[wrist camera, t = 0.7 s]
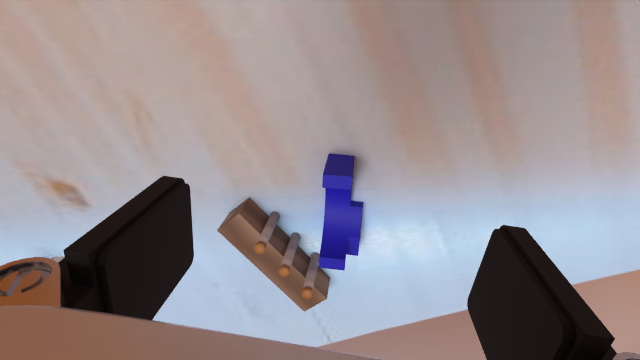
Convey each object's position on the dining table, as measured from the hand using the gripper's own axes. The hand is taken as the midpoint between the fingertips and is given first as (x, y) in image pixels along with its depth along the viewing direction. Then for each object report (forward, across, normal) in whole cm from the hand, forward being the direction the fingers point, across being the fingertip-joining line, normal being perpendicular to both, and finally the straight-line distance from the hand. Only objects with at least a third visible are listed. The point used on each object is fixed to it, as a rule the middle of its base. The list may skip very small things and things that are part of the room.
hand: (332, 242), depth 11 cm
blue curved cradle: (+30, -1, +14) cm, 33 cm away
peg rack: (+30, +6, +22) cm, 37 cm away
